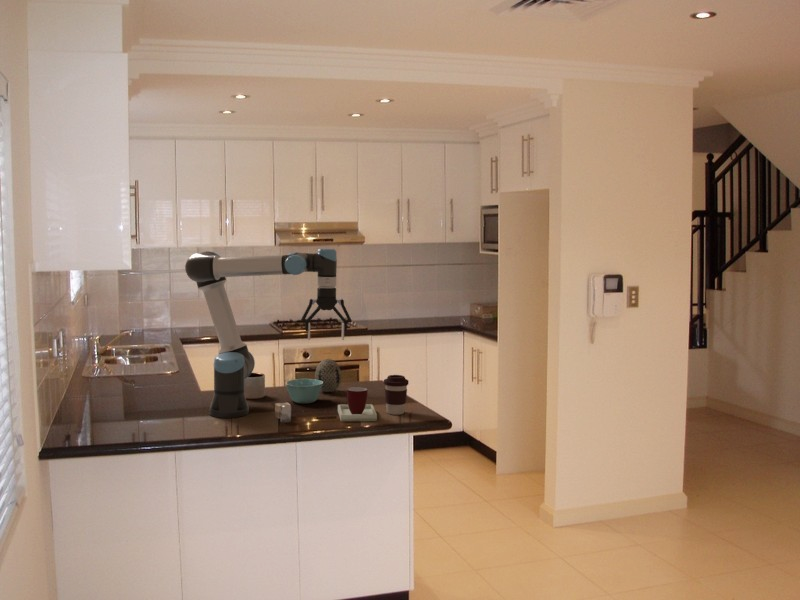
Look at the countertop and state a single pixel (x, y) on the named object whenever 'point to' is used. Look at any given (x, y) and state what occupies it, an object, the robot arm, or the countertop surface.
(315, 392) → the bowl
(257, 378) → the planter
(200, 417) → the countertop surface
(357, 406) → the mug
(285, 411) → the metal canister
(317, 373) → the decorative egg
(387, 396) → the coffee cup
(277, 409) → the white marbled cube
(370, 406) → the tray
